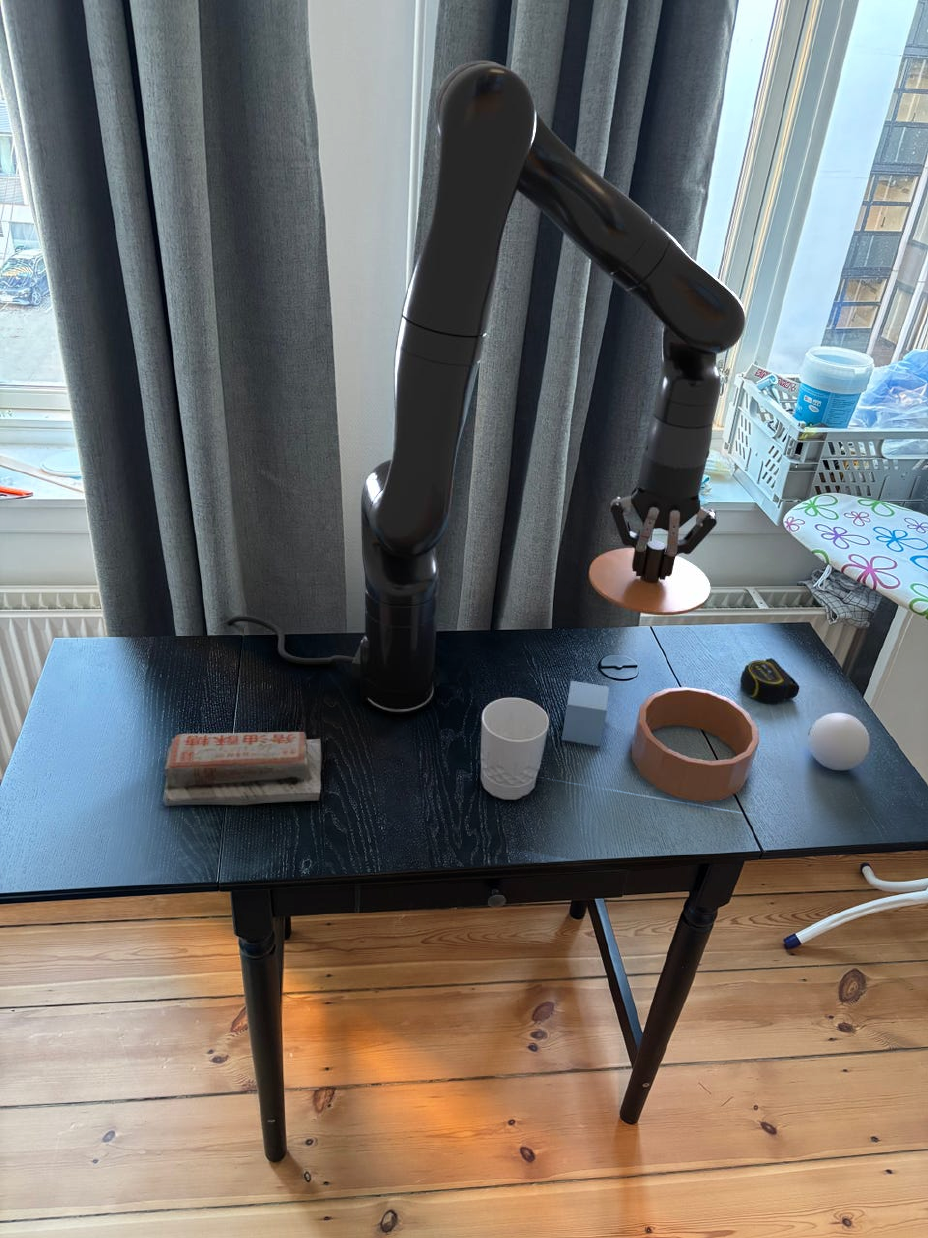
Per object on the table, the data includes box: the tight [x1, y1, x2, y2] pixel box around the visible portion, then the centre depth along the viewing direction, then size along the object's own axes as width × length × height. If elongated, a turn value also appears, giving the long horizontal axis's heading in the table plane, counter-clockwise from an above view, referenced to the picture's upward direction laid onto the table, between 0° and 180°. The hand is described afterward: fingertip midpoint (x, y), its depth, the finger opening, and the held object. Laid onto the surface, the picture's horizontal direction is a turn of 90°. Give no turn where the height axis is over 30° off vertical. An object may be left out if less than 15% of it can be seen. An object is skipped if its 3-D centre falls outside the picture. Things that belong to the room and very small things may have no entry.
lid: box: [588, 540, 711, 616], centre depth 123 cm, size 16×16×6 cm
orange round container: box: [630, 686, 760, 803], centre depth 120 cm, size 15×15×6 cm
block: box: [561, 680, 610, 747], centre depth 124 cm, size 5×5×6 cm
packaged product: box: [162, 731, 322, 807], centre depth 114 cm, size 18×5×10 cm
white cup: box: [480, 697, 550, 801], centre depth 115 cm, size 8×8×10 cm
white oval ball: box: [807, 708, 871, 771], centre depth 123 cm, size 10×7×7 cm
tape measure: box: [740, 657, 800, 705], centre depth 134 cm, size 7×7×4 cm
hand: (650, 574), depth 124 cm, fingers closed on lid, 2 cm apart
